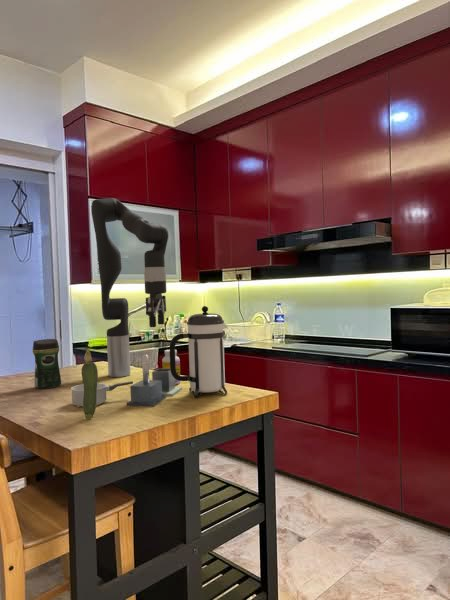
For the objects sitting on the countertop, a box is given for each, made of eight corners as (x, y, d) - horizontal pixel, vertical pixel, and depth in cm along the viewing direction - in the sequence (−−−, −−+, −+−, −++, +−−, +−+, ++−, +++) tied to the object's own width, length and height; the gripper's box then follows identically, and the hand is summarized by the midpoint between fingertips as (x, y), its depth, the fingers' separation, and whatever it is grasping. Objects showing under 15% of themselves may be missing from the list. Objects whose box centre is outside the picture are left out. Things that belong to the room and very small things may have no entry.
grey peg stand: (140, 397, 148) (139, 353, 147) (166, 397, 146) (164, 352, 145) (126, 406, 137) (124, 358, 136) (153, 406, 135) (151, 358, 135)
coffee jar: (59, 383, 176) (57, 337, 176) (62, 386, 169) (60, 338, 169) (33, 386, 171) (30, 339, 171) (35, 390, 164) (33, 341, 164)
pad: (155, 388, 160) (155, 386, 160) (181, 389, 158) (181, 387, 158) (145, 395, 150) (145, 393, 150) (172, 396, 148) (172, 393, 148)
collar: (159, 387, 157) (158, 368, 157) (174, 388, 156) (174, 368, 156) (152, 391, 152) (152, 371, 151) (169, 392, 150) (168, 371, 150)
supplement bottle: (173, 386, 163) (172, 351, 163) (159, 384, 167) (158, 351, 166) (183, 382, 169) (182, 349, 169) (170, 381, 172) (168, 348, 172)
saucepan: (137, 401, 143) (136, 384, 142) (72, 410, 134) (72, 392, 134) (129, 394, 153) (128, 378, 153) (69, 402, 145) (68, 385, 144)
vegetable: (85, 416, 127) (82, 347, 126) (100, 415, 127) (97, 347, 127) (81, 421, 122) (78, 349, 122) (97, 420, 123) (94, 349, 122)
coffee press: (201, 386, 161) (198, 305, 161) (238, 390, 152) (235, 304, 151) (169, 396, 147) (166, 307, 146) (207, 402, 138) (204, 307, 137)
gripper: (152, 280, 163) (154, 323, 164) (137, 280, 149) (139, 328, 150) (171, 279, 161) (173, 323, 162) (158, 280, 147) (160, 327, 148)
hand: (157, 325), depth 156 cm, fingers open, 8 cm apart
